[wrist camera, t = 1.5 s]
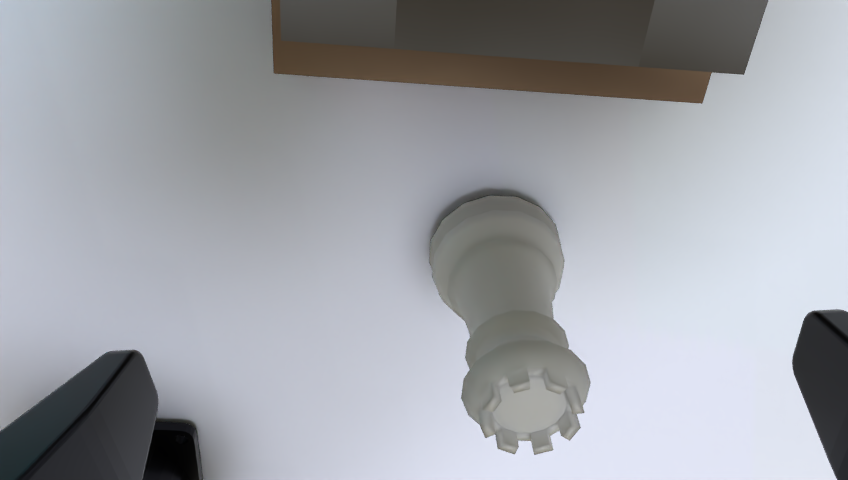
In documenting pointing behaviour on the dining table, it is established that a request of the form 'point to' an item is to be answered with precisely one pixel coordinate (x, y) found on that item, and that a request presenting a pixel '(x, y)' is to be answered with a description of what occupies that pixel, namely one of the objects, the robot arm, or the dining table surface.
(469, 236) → the rook chess piece
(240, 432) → the dining table surface
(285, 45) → the socket board
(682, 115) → the dining table surface
